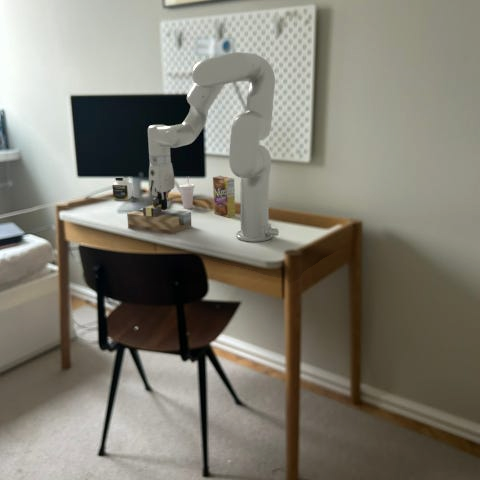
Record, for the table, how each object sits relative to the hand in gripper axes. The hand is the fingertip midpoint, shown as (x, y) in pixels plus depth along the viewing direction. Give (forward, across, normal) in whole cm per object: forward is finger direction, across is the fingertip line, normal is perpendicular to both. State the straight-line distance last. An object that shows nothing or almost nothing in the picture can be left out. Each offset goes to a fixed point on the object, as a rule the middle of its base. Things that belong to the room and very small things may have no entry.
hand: (162, 209), depth 192 cm
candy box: (+6, +24, -13) cm, 28 cm away
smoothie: (+6, +28, +7) cm, 29 cm away
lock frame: (+6, -2, 0) cm, 7 cm away
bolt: (+1, -6, 0) cm, 6 cm away
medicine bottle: (+6, +30, +44) cm, 54 cm away
